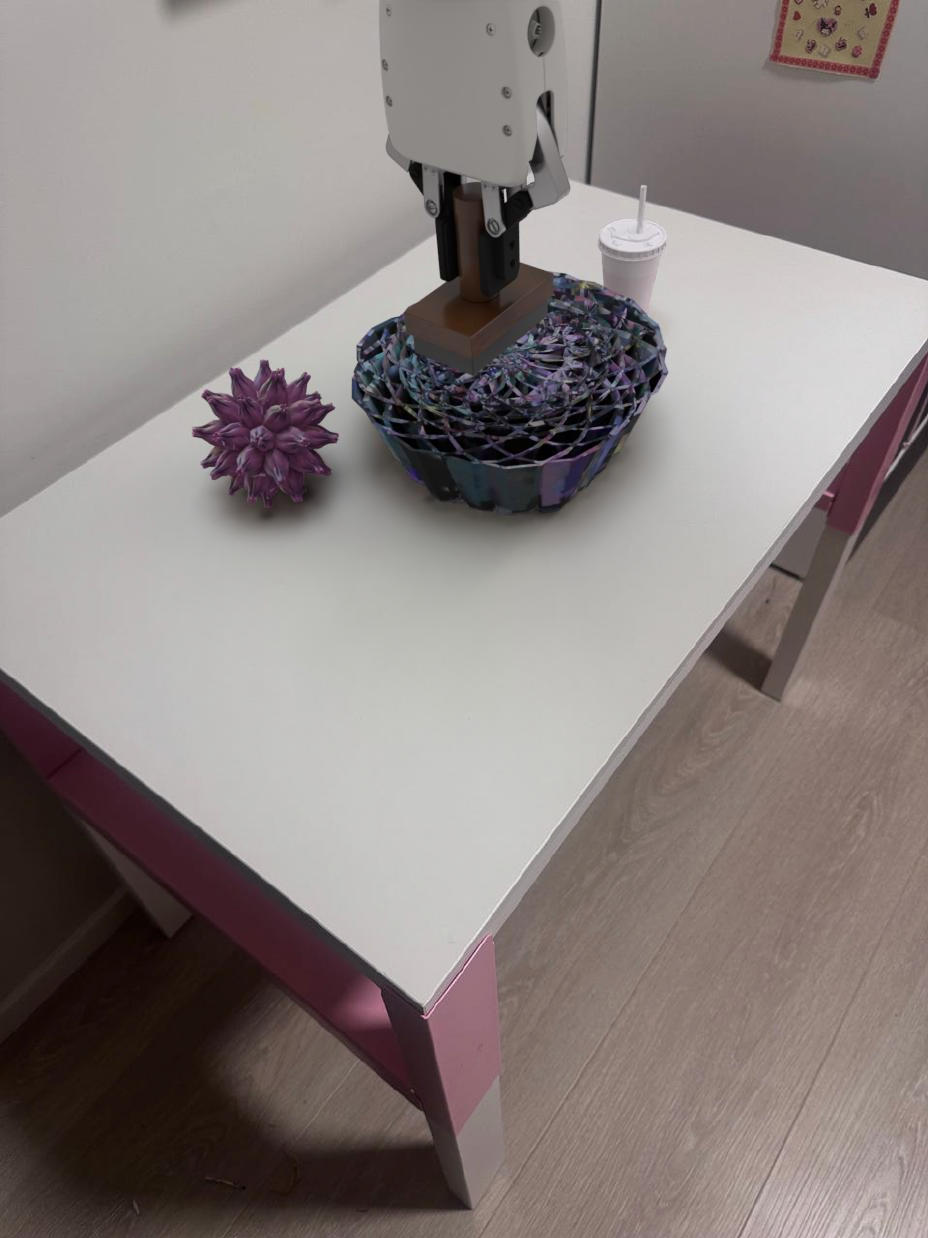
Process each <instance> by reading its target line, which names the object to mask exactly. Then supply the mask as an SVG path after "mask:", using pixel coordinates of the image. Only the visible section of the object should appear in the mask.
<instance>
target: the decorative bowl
mask: <svg viewBox="0 0 928 1238" xmlns="http://www.w3.org/2000/svg"><path fill="white" fill-rule="evenodd" d="M548 271H549V272H552V273H553V274H554V279H553V295H552V296H551V297H550V298H549V299H548V303H547V317H545V318H544V319H543V320H542V321H540V322H539V323H538V324H537V325H535V326H534V327H533V328H532V329H531V330H529V331H528V332H527V333H526V334H524V335H523V336H522V337H521V338H520V339H518V340H517V341H516V342H515V343H513V344H512V345H511V346H510V347H508V348H507V349H506V350H505V351H504V352H502V353H501V354H500V355H499V356H497V357H496V358H495V359H494V360H493V361H491V362H490V363H489V364H488V365H486V366H485V367H484V368H483V369H481V370H480V371H479V372H478V373H477V374H475V375H474V376H472V375H469V374H467V373H464V372H462V371H460V370H457V369H455V368H452V367H450V366H447V365H445V364H442V363H440V362H437V361H435V360H433V359H430V358H428V357H425V356H423V355H420V354H418V353H416V352H415V348H414V340H413V336H411V335H409V334H407V333H406V325H405V317H404V312H403V313H401V314H400V315H399V316H398V315H397V316H394V317H391V318H387V319H385V321H382V322H380V323H378V324H376V325H374V326H372V327H371V328H370V329H369V330H368V331H367V332H366V334H365V335H363V337H362V338H361V339H360V340H359V341H358V343H356V346H355V347H356V362H357V363H356V365H355V367H354V370H353V374H354V375H353V376H352V377H351V400H352V401H353V402H354V403H356V404H357V405H358V407H359V408H360V409H361V410H362V411H364V413H365V414H366V416H367V418H368V419H369V421H370V423H371V424H372V425H373V427H374V428H375V429H376V431H377V432H378V435H380V438H381V439H382V440H383V442H384V443H385V445H386V446H387V448H388V449H389V451H390V453H391V454H392V456H393V457H394V458H395V459H396V461H397V462H398V463H399V464H400V465H401V466H402V468H404V469H405V471H406V472H407V474H408V475H409V477H410V478H411V480H412V481H414V482H416V483H419V484H422V485H424V486H425V487H426V489H427V490H428V492H429V493H430V494H431V495H432V496H433V497H434V498H435V499H437V500H438V501H439V502H447V503H452V504H455V503H460V502H465V504H466V505H467V506H468V508H470V509H473V510H479V511H483V512H494V511H496V510H497V511H498V513H499V514H501V515H506V516H516V515H517V516H518V515H523V514H530V513H532V512H533V511H534V510H535V509H536V510H538V511H539V512H542V513H546V512H547V513H548V512H559V511H560V510H561V509H563V507H564V506H565V505H566V504H567V503H568V502H570V500H571V499H573V497H574V496H575V495H576V494H577V493H579V492H580V491H582V490H584V489H585V488H587V487H588V486H590V484H591V483H592V480H593V479H594V477H596V476H597V475H598V474H600V473H601V472H602V471H603V470H605V469H606V468H607V466H608V464H609V462H610V461H611V459H612V457H613V456H615V455H616V454H619V453H620V452H621V450H622V449H623V447H624V445H625V443H626V442H627V439H628V438H629V435H630V434H631V432H632V431H633V429H634V428H635V425H636V424H637V422H638V420H639V418H640V416H641V415H642V413H643V411H644V409H645V408H646V406H647V404H648V403H649V400H650V399H651V397H652V396H653V395H655V394H657V393H659V391H660V389H661V387H662V385H663V383H664V382H665V380H666V378H667V376H668V374H669V370H668V368H667V365H666V356H667V351H668V348H667V347H666V345H665V342H664V338H663V335H662V330H661V328H660V324H659V323H658V322H656V321H655V320H654V319H652V318H651V317H649V315H648V313H647V314H646V313H645V312H644V311H643V310H642V309H641V308H640V306H639V305H638V304H637V303H636V302H635V301H634V300H633V299H630V298H628V297H625V296H623V295H620V294H618V293H616V292H614V291H612V290H610V289H608V288H606V287H604V286H603V285H602V284H600V283H598V282H596V281H592V280H585V279H579V278H578V277H575V276H573V275H571V274H569V273H565V272H557V271H550V270H548ZM416 303H417V302H414V303H412V304H411V305H409V306H407V308H406V309H404V311H406V310H407V309H409V308H410V307H411V306H413V305H414V304H416Z"/></svg>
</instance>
